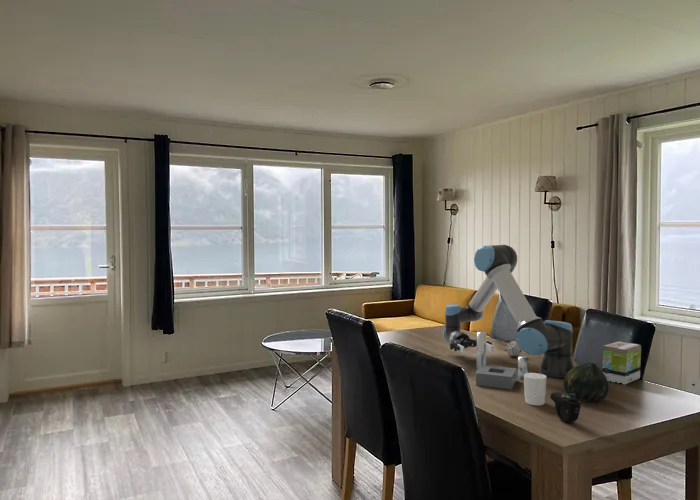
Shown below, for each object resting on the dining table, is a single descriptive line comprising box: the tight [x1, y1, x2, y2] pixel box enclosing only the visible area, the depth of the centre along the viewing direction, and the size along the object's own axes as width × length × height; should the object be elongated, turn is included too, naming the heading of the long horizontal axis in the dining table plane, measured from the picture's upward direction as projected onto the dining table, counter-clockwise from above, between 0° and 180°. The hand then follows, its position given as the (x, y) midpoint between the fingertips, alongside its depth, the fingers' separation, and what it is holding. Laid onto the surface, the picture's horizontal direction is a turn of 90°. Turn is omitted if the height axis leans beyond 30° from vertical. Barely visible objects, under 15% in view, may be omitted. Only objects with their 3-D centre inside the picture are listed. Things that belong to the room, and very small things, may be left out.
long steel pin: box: [476, 331, 487, 372], centre depth 233 cm, size 4×4×18 cm
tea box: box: [601, 341, 642, 385], centre depth 223 cm, size 15×10×15 cm, turn 131°
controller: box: [549, 392, 582, 423], centre depth 175 cm, size 4×12×10 cm, turn 14°
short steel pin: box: [517, 355, 529, 381], centre depth 225 cm, size 4×4×9 cm
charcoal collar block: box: [475, 364, 517, 390], centre depth 219 cm, size 14×14×5 cm
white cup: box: [523, 372, 548, 407], centre depth 194 cm, size 8×8×10 cm
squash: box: [563, 362, 610, 403], centre depth 197 cm, size 14×15×15 cm
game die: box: [504, 339, 523, 357], centre depth 264 cm, size 9×8×10 cm
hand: (478, 349), depth 236 cm, fingers open, 13 cm apart
